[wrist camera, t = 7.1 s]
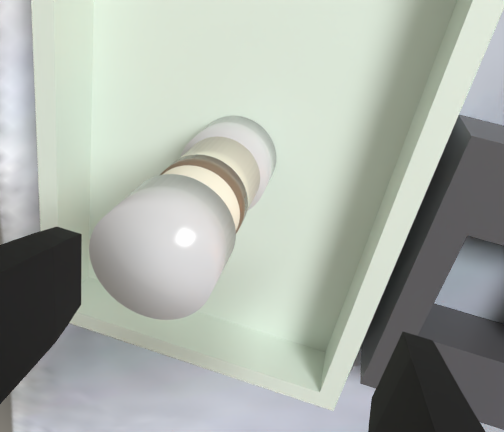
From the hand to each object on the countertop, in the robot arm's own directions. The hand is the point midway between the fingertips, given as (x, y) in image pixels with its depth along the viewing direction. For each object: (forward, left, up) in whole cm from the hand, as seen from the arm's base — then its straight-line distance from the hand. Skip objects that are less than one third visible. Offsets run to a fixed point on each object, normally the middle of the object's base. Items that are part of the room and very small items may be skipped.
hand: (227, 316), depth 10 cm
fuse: (0, +2, -9) cm, 9 cm away
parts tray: (+1, +2, -10) cm, 10 cm away
